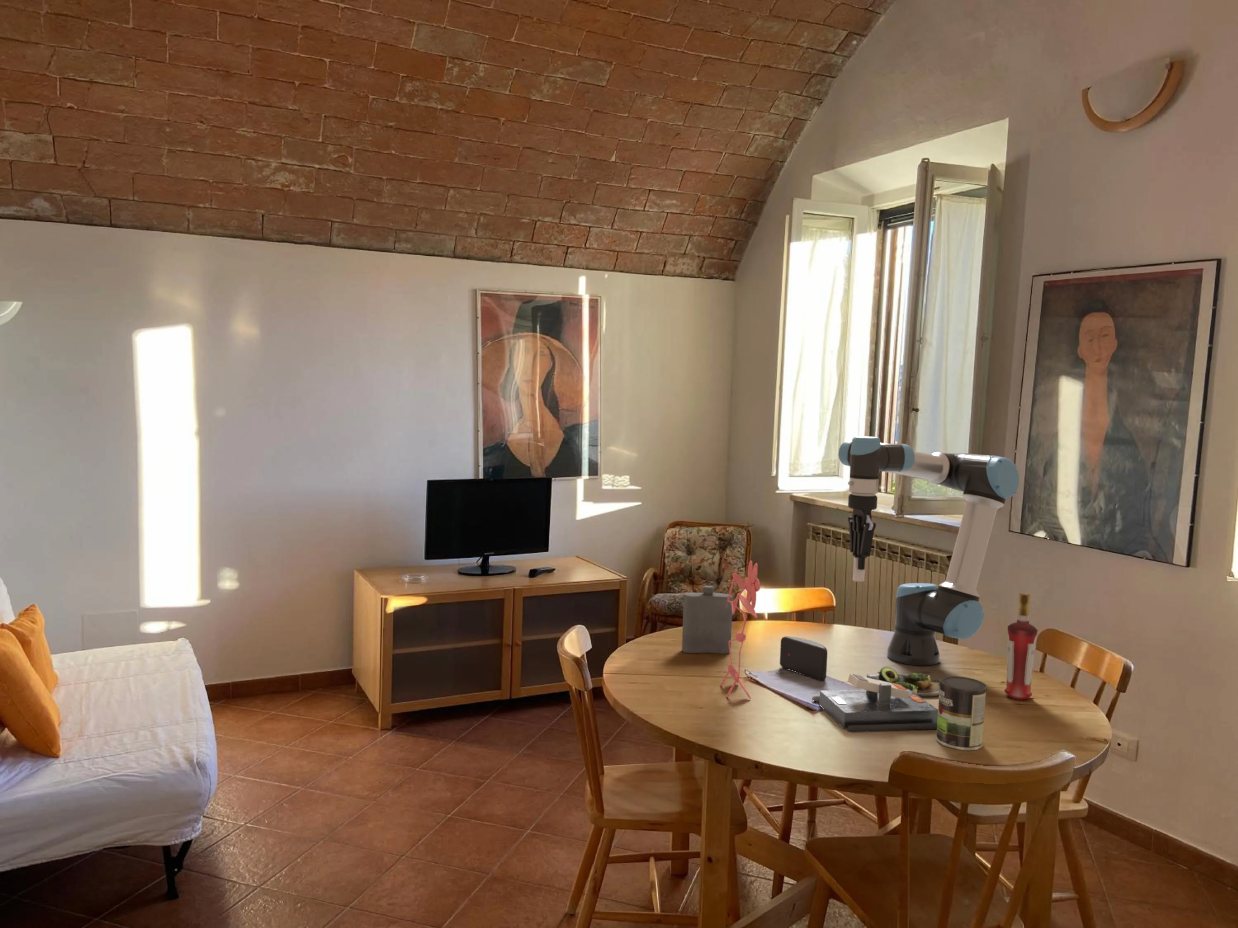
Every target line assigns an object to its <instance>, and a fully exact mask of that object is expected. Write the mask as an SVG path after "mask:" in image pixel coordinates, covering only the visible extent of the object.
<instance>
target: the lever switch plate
mask: <svg viewBox="0 0 1238 928" xmlns="http://www.w3.org/2000/svg"><path fill="white" fill-rule="evenodd" d="M866 677H867V678H871V679H876V680H878V679H879V676H878V674H877V673H875V674H872V673H871V674H868V673H867V674H866ZM907 690H908V691H910V693H909V696H908V699H904V698H899V697H895V696H891V685H890V684H889V683H880V684H879V693H877V692H873V691H868V690H864V689H842V690H841V689H837V690H834V689H831V690H819V696H820V701H819V702H818V705H819V704H820V705H821V706H822V707H823V708H824V710H823V711H824V712H825V713H826V714H827V715H828V717H830V718H832V720H833V721H835V722H836V724H838V725H839V726H840V727H841V728H842V729H843V730H848V726H849V725H878V724H915V723H937V721H938V708H936V707H935V706H934V705H933V704H930V702H928V701H926V700H925V699H923V697H919V696H918V695H916V694H915V693H914V692H912V691H911V690H909V689H907Z"/></svg>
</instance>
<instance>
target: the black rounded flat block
mask: <svg viewBox="0 0 1238 928" xmlns="http://www.w3.org/2000/svg"><path fill="white" fill-rule="evenodd" d="M779 652H780V653H779V654H780V655H779V665H780V667H781V668H783V669H784V668H785V669H784V670H787V669H790V670H793V671H796V672H798V673H797V674H799V673H801V674H800V675H802V674H804V675H803V676H805V675H806V676H805V677H808V676H810V677H809V678H812V679H814V680H818V679H819V681H825V680H827V679H826V678H827V672H828V671H827V670H828V669H827V666H828V649H827V648H826V646H824V645H823V644H821V643H819V642H816V641H814V640H810V639H806V638H802V637H798V636H797V637H796V636H789V635H788V636H782V637H781V638H780V649H779ZM790 670H789V671H790ZM793 671H792V672H793ZM796 672H795V673H796Z"/></svg>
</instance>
